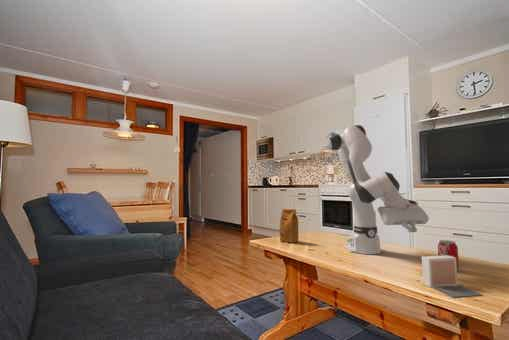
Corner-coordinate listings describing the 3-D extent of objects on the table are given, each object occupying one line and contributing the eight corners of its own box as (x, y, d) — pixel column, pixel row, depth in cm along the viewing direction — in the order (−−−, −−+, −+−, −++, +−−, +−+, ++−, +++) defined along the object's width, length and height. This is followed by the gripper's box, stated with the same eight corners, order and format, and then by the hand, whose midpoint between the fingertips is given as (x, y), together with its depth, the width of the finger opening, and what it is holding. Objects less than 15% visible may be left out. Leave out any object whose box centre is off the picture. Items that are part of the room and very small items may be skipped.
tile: (423, 283, 97) (421, 256, 98) (449, 282, 99) (447, 255, 99) (430, 287, 94) (429, 259, 94) (458, 285, 95) (456, 257, 96)
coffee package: (287, 239, 183) (286, 207, 185) (300, 241, 173) (300, 208, 175) (277, 241, 177) (276, 208, 178) (290, 244, 167) (289, 209, 169)
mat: (433, 288, 93) (433, 287, 93) (460, 286, 94) (460, 285, 94) (452, 297, 85) (452, 296, 85) (482, 295, 86) (482, 294, 86)
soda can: (435, 268, 115) (433, 240, 116) (446, 266, 118) (444, 239, 119) (452, 272, 109) (450, 243, 109) (463, 270, 111) (461, 242, 112)
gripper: (378, 202, 117) (393, 227, 106) (420, 201, 119) (439, 226, 109) (373, 211, 121) (387, 236, 110) (413, 210, 123) (431, 234, 113)
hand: (413, 231), depth 110 cm, fingers closed
